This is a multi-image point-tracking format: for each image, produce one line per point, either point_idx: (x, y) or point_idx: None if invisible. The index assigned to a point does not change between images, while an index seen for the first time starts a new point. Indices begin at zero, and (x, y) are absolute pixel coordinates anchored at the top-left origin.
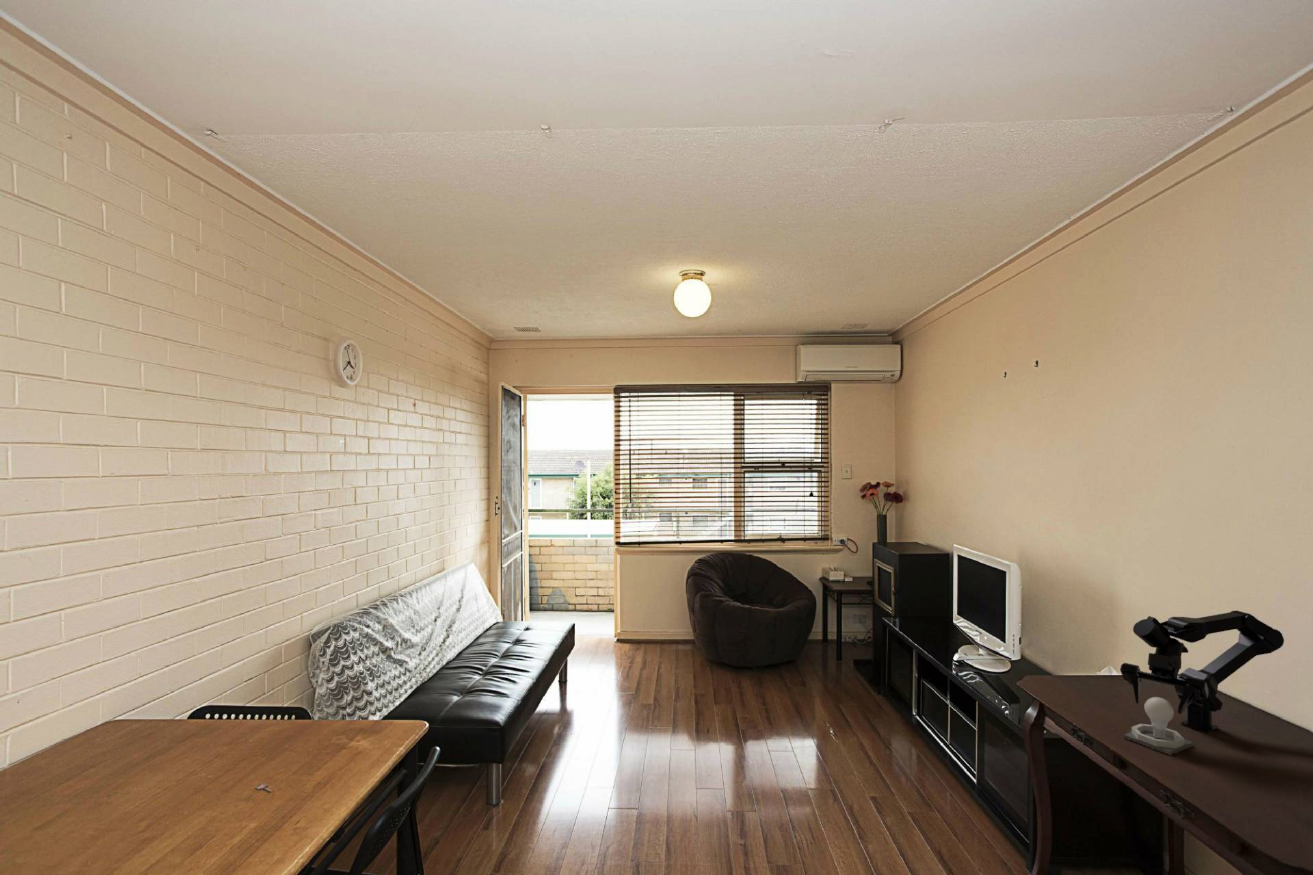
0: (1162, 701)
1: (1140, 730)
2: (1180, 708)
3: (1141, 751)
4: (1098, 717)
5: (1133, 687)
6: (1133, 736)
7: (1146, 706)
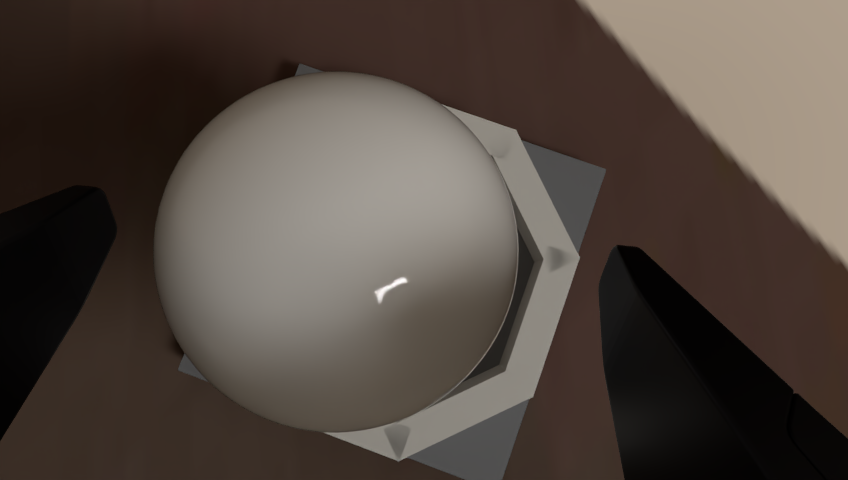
0: (247, 146)
1: (517, 320)
2: (30, 203)
3: (466, 21)
4: None
5: (823, 418)
6: (543, 183)
7: (483, 146)
